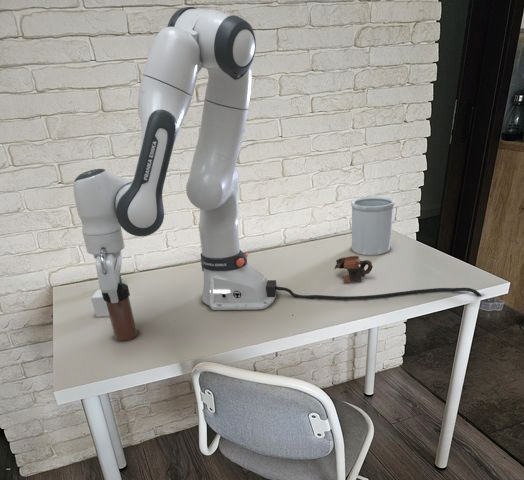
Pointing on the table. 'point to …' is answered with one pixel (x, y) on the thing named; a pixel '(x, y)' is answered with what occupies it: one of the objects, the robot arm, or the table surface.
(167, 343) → the table surface
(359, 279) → the pottery mug
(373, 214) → the utensil holder
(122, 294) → the lid
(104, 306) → the white cube
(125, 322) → the coffee jar
